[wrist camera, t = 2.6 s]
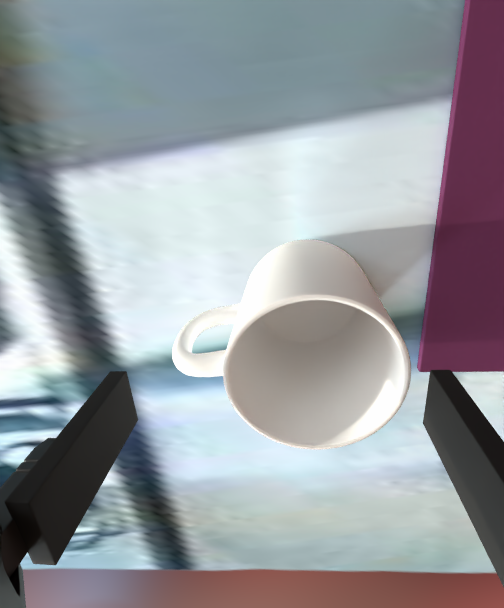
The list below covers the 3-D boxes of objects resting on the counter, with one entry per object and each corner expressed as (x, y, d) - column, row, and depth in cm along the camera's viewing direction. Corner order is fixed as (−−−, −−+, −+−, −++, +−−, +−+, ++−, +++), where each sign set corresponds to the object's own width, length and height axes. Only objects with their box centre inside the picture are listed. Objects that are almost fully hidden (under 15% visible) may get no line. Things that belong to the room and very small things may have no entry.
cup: (367, 341, 26) (408, 447, 17) (208, 353, 28) (167, 454, 19) (365, 229, 23) (415, 284, 14) (186, 249, 25) (124, 310, 16)
